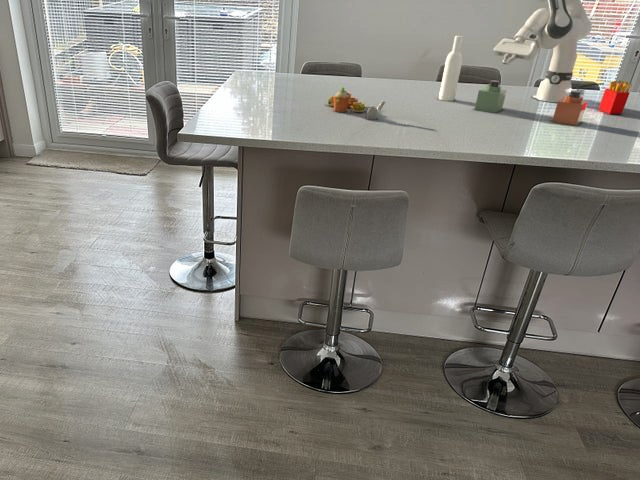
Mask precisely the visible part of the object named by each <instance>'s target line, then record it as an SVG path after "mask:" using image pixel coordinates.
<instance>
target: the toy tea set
mask: <svg viewBox="0 0 640 480" xmlns="http://www.w3.org/2000/svg"><path fill="white" fill-rule="evenodd" d="M326 105H327V106H330V107H333V111H334V112H337V113H345V112H347V110H348V109H350V111H352V112H354V113H363V112H365V110H366V109H367V105H365V103H364V102H363V101H360V102H359V99H358V98H357V97H352V93H351V92H348V91H347V90H345V87H341V89H340V90H338V91H337V92H336V94H334V95H333V96H329V97H328V99H327V102H326Z"/></svg>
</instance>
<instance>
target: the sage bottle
mask: <svg viewBox="0 0 640 480" xmlns="http://www.w3.org/2000/svg"><path fill="white" fill-rule="evenodd" d="M489 85H490V84H486V85H485V87H484V88H481V89H478V93H477V97H476V101H475V106H474V108H473V109H474V111H479V112H486V113H491V114H496V113H499V112H500V111H502V110H503V107H504V103H505V99H506V96H507V89H502V88H503V86H502V85H499V86H498V87H492V86H489Z"/></svg>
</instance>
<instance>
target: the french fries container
mask: <svg viewBox="0 0 640 480" xmlns="http://www.w3.org/2000/svg"><path fill="white" fill-rule="evenodd" d="M632 85H633V83H629V82H626V81H622V80H619V81H618V80H614V81H613V80H612V81H610V82H609V87H608V88H604V92H603V94H602V97H601V100H600V103H599V106H598V109H597V110H598V111H600V112H602V113H605V114H608V115H622V113H623V112H624V110H625V107H626V105H627V102H628V99H629V96H630V94H631V93H630V90H631V87H632Z"/></svg>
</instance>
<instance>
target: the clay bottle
mask: <svg viewBox="0 0 640 480" xmlns="http://www.w3.org/2000/svg"><path fill="white" fill-rule="evenodd" d="M569 96H570V95H566V96H565V98H563V99H561V100H559V101H558V102H556V106H555V110H554V113H553V115H552V116H553V117H552V120H551V123H557V124H562V125H569V126H578V125H579V124H580V123H581V122H582V120H583V117H584V114H585V111H586V108H587V105H588V102H589V101H588V100H584V96H581V95H580V97H579V98H576V97H569Z"/></svg>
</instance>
